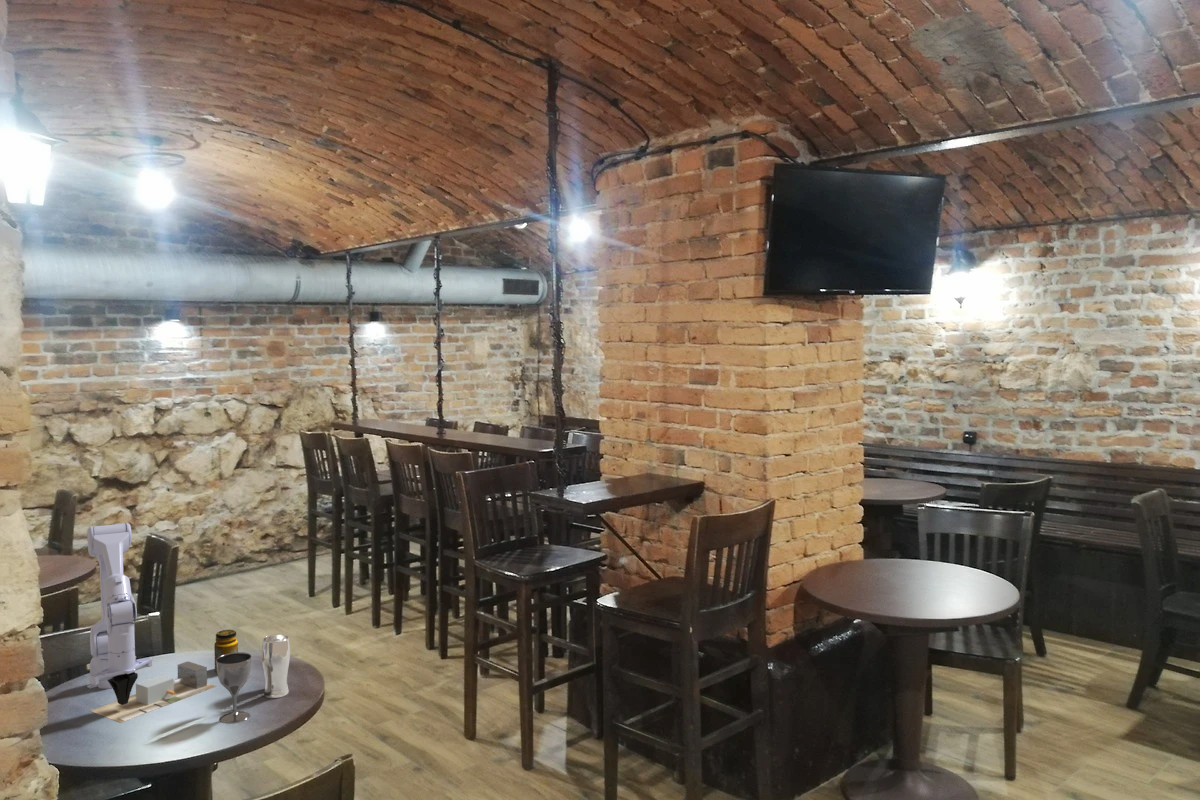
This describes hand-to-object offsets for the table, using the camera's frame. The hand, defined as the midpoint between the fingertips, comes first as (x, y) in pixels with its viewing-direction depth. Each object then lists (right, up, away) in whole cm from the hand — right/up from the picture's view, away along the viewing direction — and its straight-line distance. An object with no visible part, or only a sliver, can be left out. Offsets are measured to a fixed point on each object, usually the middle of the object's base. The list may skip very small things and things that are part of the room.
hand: (123, 703), depth 215 cm
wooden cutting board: (+4, -3, +7) cm, 9 cm away
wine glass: (+28, -4, 0) cm, 28 cm away
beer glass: (+33, -3, +14) cm, 36 cm away
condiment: (+13, -2, +26) cm, 30 cm away
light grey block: (+6, -1, +9) cm, 11 cm away
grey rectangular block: (+9, -1, +16) cm, 19 cm away
